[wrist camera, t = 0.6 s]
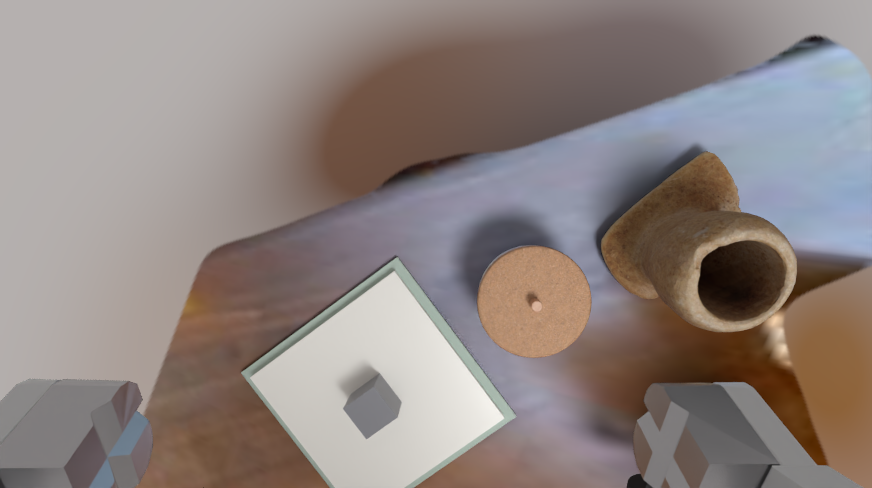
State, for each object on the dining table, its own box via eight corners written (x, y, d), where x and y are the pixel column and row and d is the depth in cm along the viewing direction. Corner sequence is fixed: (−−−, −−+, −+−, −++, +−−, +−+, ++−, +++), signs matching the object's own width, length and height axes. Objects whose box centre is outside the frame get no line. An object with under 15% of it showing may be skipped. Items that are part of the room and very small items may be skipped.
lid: (503, 414, 57) (508, 435, 52) (360, 513, 59) (351, 542, 54) (395, 269, 56) (389, 276, 51) (253, 374, 58) (234, 391, 53)
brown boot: (648, 324, 56) (718, 369, 41) (582, 238, 56) (628, 253, 41) (765, 238, 55) (881, 252, 40) (698, 149, 54) (790, 131, 39)
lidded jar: (455, 299, 57) (454, 319, 47) (512, 220, 56) (524, 224, 46) (534, 355, 57) (549, 386, 48) (593, 277, 56) (620, 292, 47)
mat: (515, 414, 57) (516, 416, 57) (359, 522, 59) (359, 525, 59) (397, 256, 56) (397, 257, 56) (242, 371, 58) (240, 372, 58)
